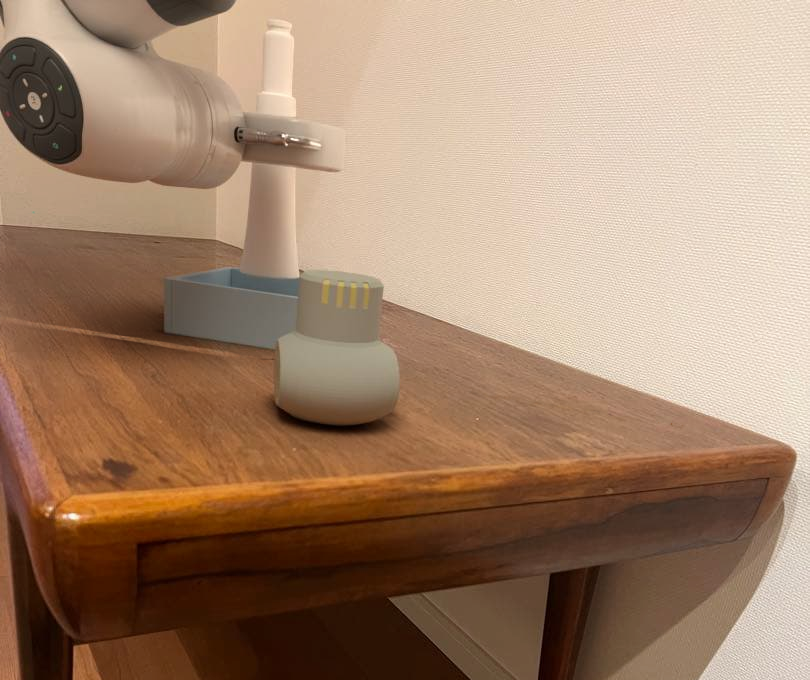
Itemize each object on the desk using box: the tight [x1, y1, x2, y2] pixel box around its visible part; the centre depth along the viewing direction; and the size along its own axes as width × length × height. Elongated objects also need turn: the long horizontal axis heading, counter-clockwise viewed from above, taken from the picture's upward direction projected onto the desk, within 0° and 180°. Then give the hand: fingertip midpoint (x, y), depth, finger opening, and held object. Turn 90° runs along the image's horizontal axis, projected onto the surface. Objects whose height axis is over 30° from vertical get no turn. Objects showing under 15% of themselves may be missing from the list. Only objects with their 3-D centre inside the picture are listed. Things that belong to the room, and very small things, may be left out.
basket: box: [163, 266, 299, 350], centre depth 81 cm, size 16×16×6 cm
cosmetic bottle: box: [239, 19, 300, 279], centre depth 75 cm, size 6×6×22 cm
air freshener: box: [273, 269, 401, 427], centre depth 56 cm, size 11×8×10 cm
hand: (280, 145), depth 75 cm, fingers closed on cosmetic bottle, 4 cm apart
